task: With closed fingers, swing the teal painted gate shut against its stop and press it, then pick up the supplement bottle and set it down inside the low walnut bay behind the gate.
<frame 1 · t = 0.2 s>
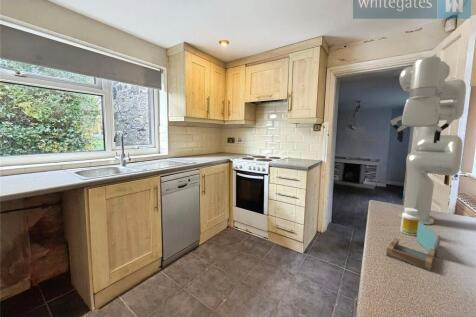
hand: (417, 142, 77), 36 cm above the countertop, tool pointing down, fingers open, 9 cm apart
supplement bottle: (408, 233, 83), on the countertop
bay: (410, 256, 67), on the countertop
gate: (427, 238, 71), point 4 cm above the countertop, hinge at 60.0°
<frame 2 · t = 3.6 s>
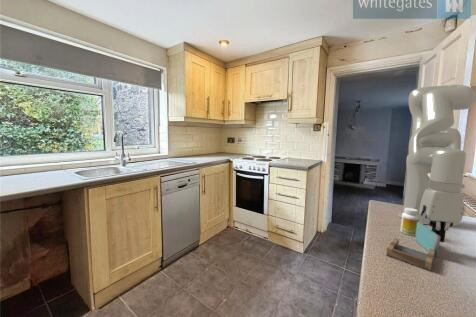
hand: (437, 240, 70), 4 cm above the countertop, tool pointing down, fingers closed
gate: (426, 238, 71), point 4 cm above the countertop, hinge at 58.1°, touching gripper
everything else where it was.
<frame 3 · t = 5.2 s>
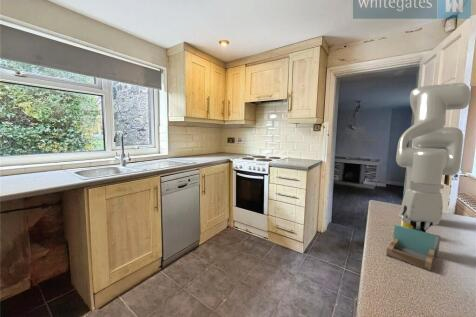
hand: (418, 239, 72), 3 cm above the countertop, tool pointing down, fingers closed
gate: (415, 240, 70), point 4 cm above the countertop, hinge at -1.6°, touching gripper
everything else where it was.
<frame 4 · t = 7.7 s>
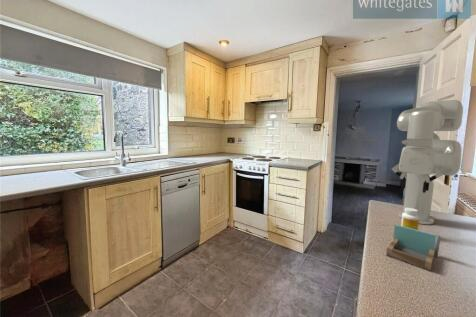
hand: (413, 189, 81), 18 cm above the countertop, tool pointing down, fingers open, 5 cm apart
gate: (415, 240, 70), point 4 cm above the countertop, hinge at -1.7°
everything else where it was.
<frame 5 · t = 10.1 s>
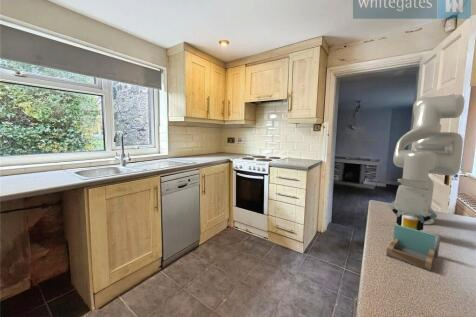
hand: (409, 227, 83), 2 cm above the countertop, tool pointing down, fingers closed on supplement bottle, 5 cm apart
supplement bottle: (408, 233, 83), on the countertop, touching gripper
everything else where it was.
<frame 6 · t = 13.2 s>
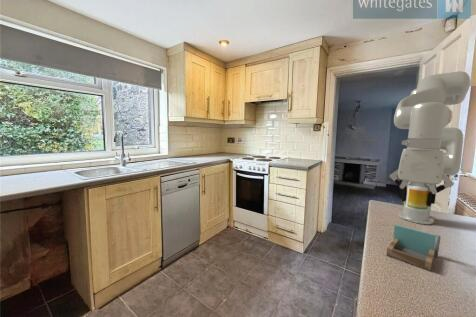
hand: (416, 202, 65), 18 cm above the countertop, tool pointing down, fingers closed on supplement bottle, 5 cm apart
supplement bottle: (415, 209, 65), point 16 cm above the countertop, touching gripper
everything else where it was.
when the fingers open (3 cm above the countertop, at t = 16.4 s): supplement bottle stays where it is, resting on bay.
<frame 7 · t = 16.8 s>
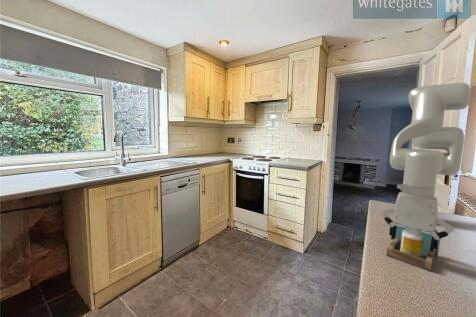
hand: (411, 243, 66), 4 cm above the countertop, tool pointing down, fingers open, 9 cm apart
supplement bottle: (410, 255, 67), resting on bay
everything else where it was.
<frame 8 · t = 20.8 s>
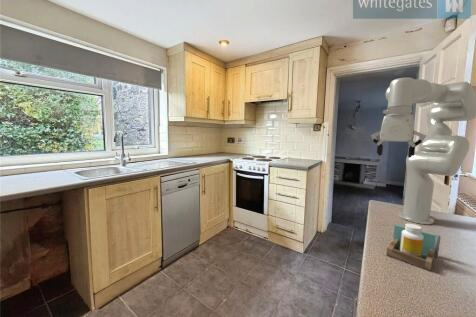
hand: (394, 156, 82), 30 cm above the countertop, tool pointing down, fingers open, 9 cm apart
nothing on the countertop moved.
at the end: gate at -2° (first picture: +60°); supplement bottle 0.2 cm off-centre on the bay, point 0.2 cm above the bay's base; supplement bottle tilted 0° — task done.
